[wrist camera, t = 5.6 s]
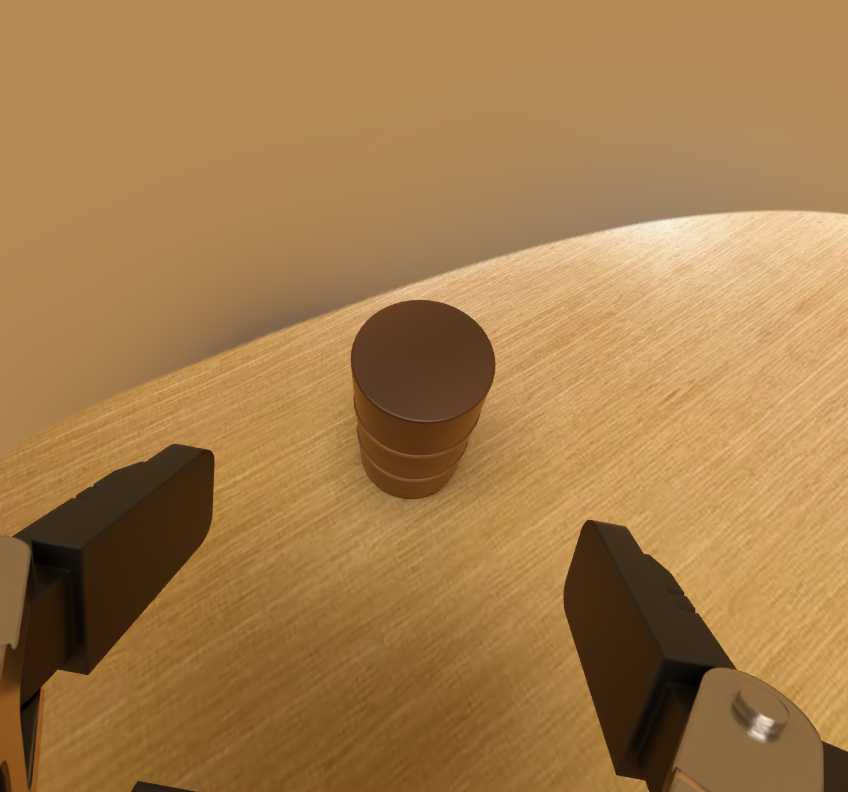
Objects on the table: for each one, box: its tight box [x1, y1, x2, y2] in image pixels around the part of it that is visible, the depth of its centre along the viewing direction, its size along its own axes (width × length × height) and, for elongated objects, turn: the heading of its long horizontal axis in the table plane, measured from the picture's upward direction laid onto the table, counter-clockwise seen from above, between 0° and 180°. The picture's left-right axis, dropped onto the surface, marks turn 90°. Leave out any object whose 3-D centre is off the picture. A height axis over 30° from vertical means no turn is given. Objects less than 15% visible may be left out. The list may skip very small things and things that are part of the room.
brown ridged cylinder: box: [351, 300, 495, 499], centre depth 18 cm, size 4×4×8 cm
